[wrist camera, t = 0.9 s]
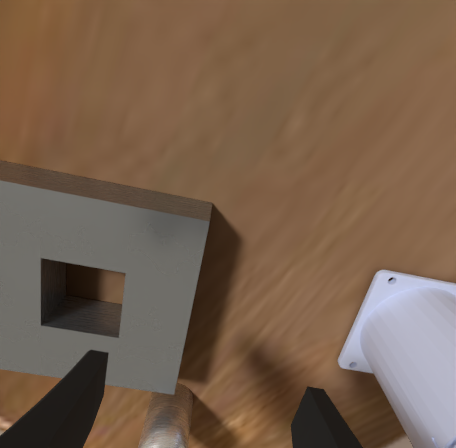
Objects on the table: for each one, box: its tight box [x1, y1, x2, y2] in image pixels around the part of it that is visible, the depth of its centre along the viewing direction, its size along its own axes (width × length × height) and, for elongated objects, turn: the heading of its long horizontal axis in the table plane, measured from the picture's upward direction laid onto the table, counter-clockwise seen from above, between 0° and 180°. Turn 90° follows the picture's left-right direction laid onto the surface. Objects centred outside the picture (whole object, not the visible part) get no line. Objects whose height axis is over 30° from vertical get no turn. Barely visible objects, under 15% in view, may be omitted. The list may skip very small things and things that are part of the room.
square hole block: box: [0, 160, 212, 395], centre depth 19 cm, size 20×12×3 cm, turn 78°
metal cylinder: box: [138, 383, 193, 448], centre depth 22 cm, size 3×3×6 cm
